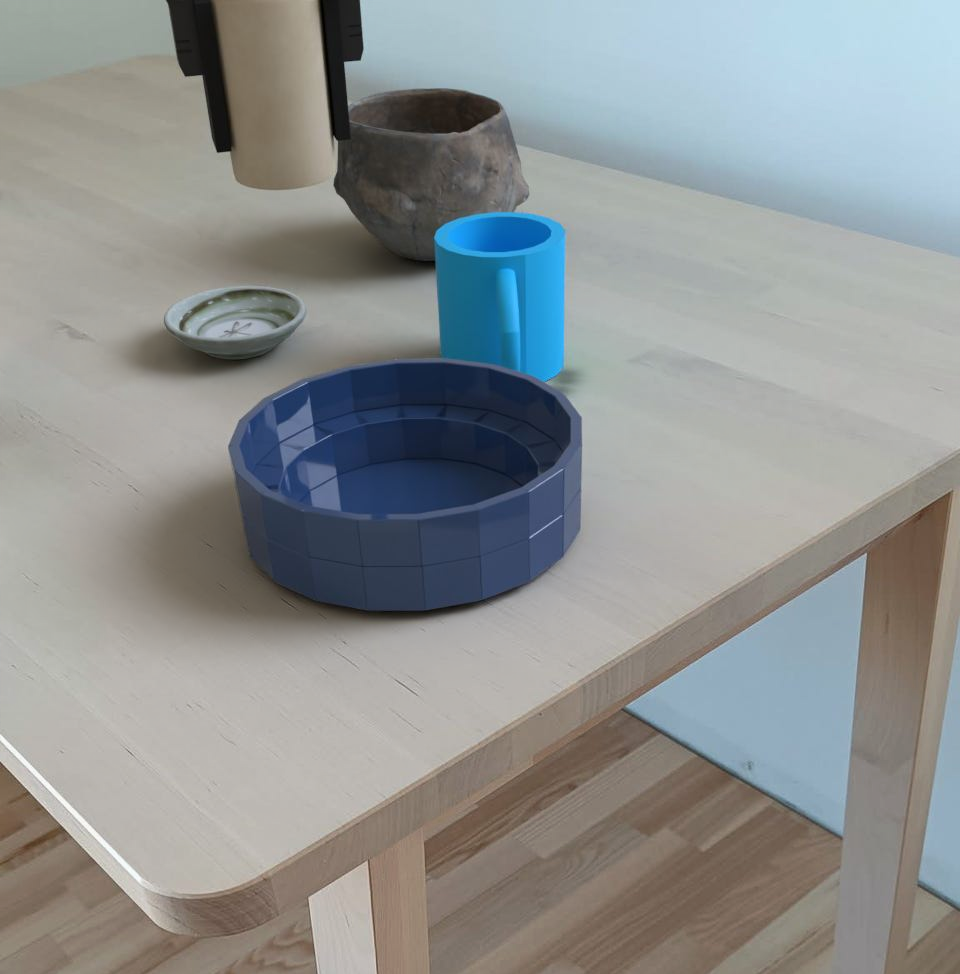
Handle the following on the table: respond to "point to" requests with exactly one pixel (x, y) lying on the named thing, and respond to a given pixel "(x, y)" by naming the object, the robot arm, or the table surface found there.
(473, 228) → the mug
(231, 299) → the saucer
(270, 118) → the candle
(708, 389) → the table surface
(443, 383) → the serving bowl
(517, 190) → the bowl
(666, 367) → the table surface
